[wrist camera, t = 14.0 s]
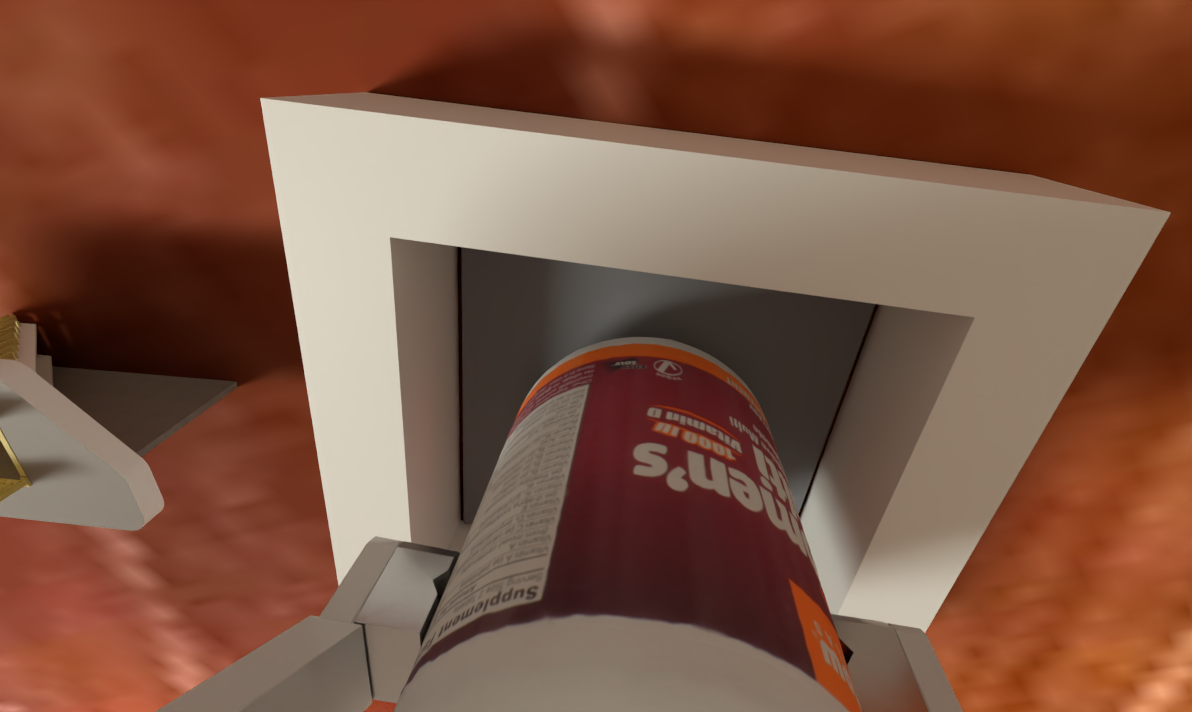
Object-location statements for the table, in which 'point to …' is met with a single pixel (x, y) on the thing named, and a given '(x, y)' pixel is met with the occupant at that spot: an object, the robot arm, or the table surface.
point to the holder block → (687, 313)
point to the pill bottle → (634, 555)
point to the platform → (85, 435)
